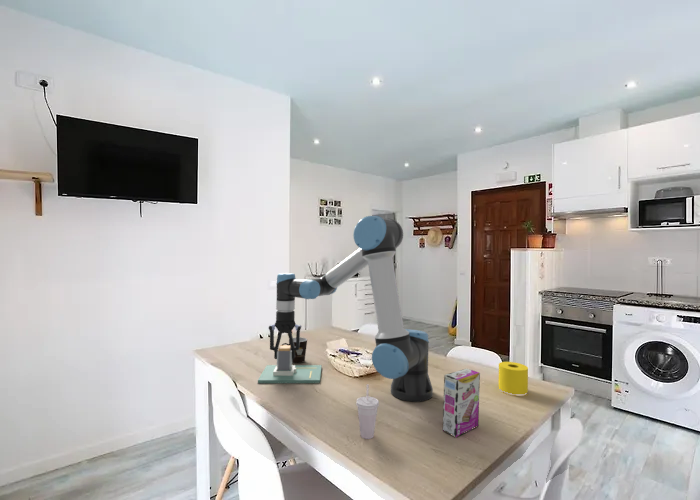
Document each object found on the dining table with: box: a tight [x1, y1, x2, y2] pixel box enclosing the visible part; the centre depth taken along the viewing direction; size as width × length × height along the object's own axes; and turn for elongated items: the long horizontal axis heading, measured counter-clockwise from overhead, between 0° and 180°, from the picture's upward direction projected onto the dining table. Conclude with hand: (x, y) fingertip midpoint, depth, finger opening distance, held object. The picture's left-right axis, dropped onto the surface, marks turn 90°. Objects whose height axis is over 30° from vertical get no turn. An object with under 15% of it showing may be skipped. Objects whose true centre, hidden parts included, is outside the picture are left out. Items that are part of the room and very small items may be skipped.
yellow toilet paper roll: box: [498, 361, 529, 394], centre depth 131 cm, size 10×10×9 cm
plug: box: [278, 344, 291, 370], centre depth 145 cm, size 4×4×9 cm
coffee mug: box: [281, 336, 308, 364], centre depth 164 cm, size 12×9×10 cm
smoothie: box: [355, 383, 380, 440], centre depth 98 cm, size 6×6×14 cm
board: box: [257, 364, 322, 384], centre depth 145 cm, size 18×24×3 cm
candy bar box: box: [442, 368, 481, 438], centre depth 102 cm, size 11×5×16 cm, turn 127°
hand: (284, 366), depth 145 cm, fingers closed on plug, 4 cm apart
